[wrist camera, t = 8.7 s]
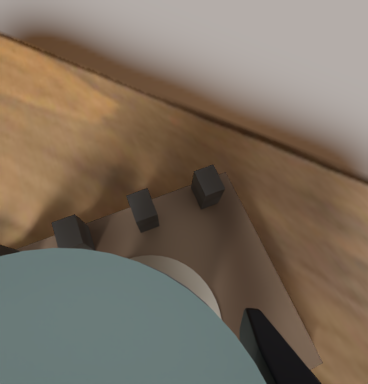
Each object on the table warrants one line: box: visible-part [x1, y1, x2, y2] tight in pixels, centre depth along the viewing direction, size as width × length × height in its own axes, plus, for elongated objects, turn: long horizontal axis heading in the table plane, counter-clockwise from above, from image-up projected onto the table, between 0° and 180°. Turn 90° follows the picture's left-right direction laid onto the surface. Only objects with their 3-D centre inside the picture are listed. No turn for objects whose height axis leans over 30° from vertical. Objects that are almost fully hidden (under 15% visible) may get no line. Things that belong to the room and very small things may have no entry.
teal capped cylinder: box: [0, 248, 266, 384], centre depth 8 cm, size 5×5×13 cm
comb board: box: [0, 165, 323, 370], centre depth 14 cm, size 20×12×4 cm, turn 113°
